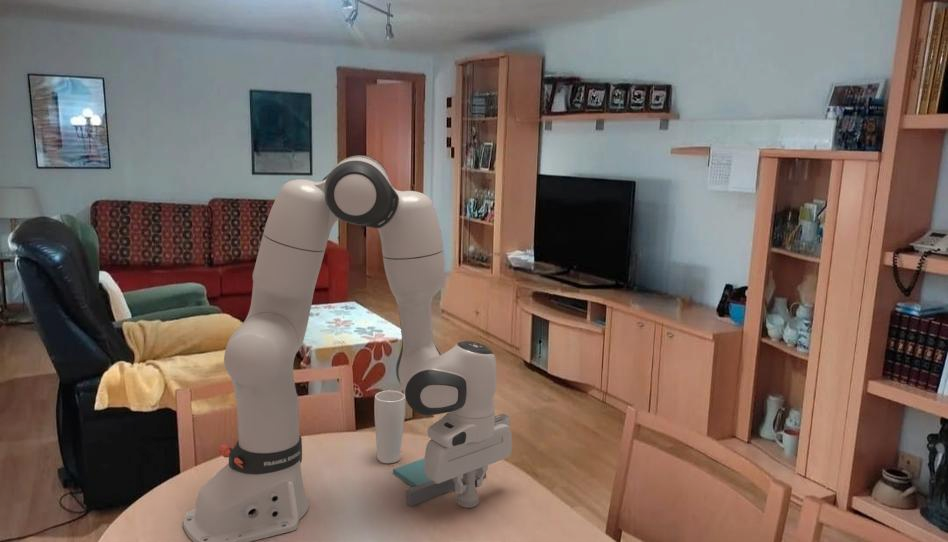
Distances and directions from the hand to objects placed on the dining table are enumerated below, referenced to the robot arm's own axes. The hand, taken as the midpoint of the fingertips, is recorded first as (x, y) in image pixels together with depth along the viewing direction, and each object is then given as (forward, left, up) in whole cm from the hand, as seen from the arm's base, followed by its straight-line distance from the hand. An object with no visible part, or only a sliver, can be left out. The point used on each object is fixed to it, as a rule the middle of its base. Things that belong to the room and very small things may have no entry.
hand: (468, 488), depth 138 cm
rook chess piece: (0, 0, -3) cm, 3 cm away
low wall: (0, +6, -3) cm, 7 cm away
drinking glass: (-2, +25, -3) cm, 25 cm away
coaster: (0, +14, -3) cm, 14 cm away
